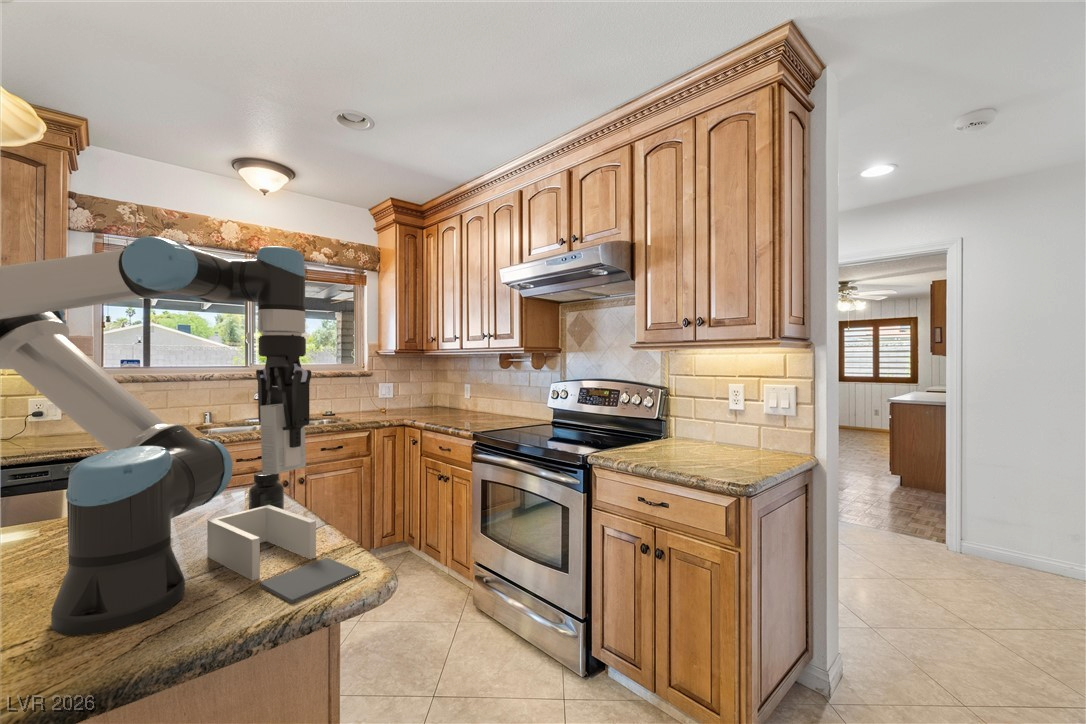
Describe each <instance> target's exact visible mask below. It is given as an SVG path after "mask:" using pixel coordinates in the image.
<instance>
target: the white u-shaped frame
mask: <svg viewBox="0 0 1086 724" xmlns="http://www.w3.org/2000/svg"><path fill="white" fill-rule="evenodd" d="M206 521H207V526H206V527H207V532H206V534H207V538H206V540H207V542H206V543H207V558H209V559H211V560H213V561H215V562H216V563H218V564H220V565H222V566H224V567H226V568H227V569H230V570H231V571H234V572H235V573H237V574H239V575H241V576H242V577H245V578H247V579H249V580H250V581H255V580H258V579H259V580H260V577H261V574H260V573H261V563H260V562H261V561H260V560H261V558H260V555H261V551H260V550H261V543H265V542H268V543H270V544H273V545H274V544H275V546H277V547H279V546H280V547H279V548H281V547H283V548H282V549H284V548H285V549H284V550H286V549H287V550H286V551H288V550H290V551H289V552H291V551H292V553H293V552H294V553H293V554H295V553H297V554H296V555H298V554H300V555H301V556H300V555H299V556H300V557H302V556H304V557H303V558H305V557H306V558H305V559H307V558H308V560H309V559H310V560H312V559H311V558H313V559H315V558H314V557H316V558H317V520H314V519H312V518H309V517H307V516H304V515H301V514H298V513H294V512H291V511H289V510H285V509H284V510H283V509H280V508H277V507H274V506H271V505H267V506H262V507H258V508H254V509H250V510H249V509H247V510H243V511H239V512H238V511H237V512H234V513H230V514H226V515H223V516H218V517H214V518H211V519H207V520H206Z"/></svg>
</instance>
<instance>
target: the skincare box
mask: <svg viewBox="0 0 1086 724" xmlns="http://www.w3.org/2000/svg"><path fill="white" fill-rule="evenodd" d="M260 418H261V423H260V441H261V442H260V444H261V445H260V447H261V472H264V473H268V474H279V475H280V474H283V473H287V472H291V471H296V470H300V469H303V468H306V467H307V459H306V458H307V456H306V452H307V450H306V425H305V426H303V428H301V446H300V449H301V464H298V465H294V466H289V467H284V457H283V428H282V427H286V420H285V413H284V406H283V403H282V404H273V405H264V406H260Z"/></svg>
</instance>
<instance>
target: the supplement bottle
mask: <svg viewBox="0 0 1086 724" xmlns="http://www.w3.org/2000/svg"><path fill="white" fill-rule="evenodd" d="M279 475H280V473H279V474H268V473H264V472H262V471H258V472H255V473H254V474H253V485H251V487H250V488H249V490H248V510H250V509H254V508H258V507H262V506H267V505H271V506H274V507H277V508H280V509H283V510H285V500H284V499H285V493H284V492H285V487H284V485H283V484H282V483H281V482H279V481H280V476H279Z"/></svg>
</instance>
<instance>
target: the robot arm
mask: <svg viewBox="0 0 1086 724" xmlns="http://www.w3.org/2000/svg"><path fill="white" fill-rule="evenodd" d="M305 265H306V264H305V258H304V254H302V252H300V251H299V250H297V249H294V248H291V247H290V248H289V247H286V246H277V245H276V246H275V245H274V246H273V245H272V246H262V247H260V248H258V250H257V255H256V259H254V258H253V259H231V258H229V259H228V258H223V257H220V256H217V255H214V254H211V253H209V252H205V251H202V250H199V249H196V248H193V247H191V246H187V245H185V244H182V243H180V242H179V241H176V240H172V239H169V238H162V237H160V236H159V237H158V236H152V235H150V236H149V235H148V236H142V237H138V238H136V239H135V240H134V241H132V242H131V243H129V244H127V246H126V247H125V248H122V249H116V250H109V251H103V252H94V253H86V254H81V255H73V256H66V257H59V258H51V259H44V260H36V261H31V262H22V263H15V264H14V263H13V264H9V265H1V266H0V370H13V371H14V372H16V373H17V374H18V375H19V376H20V377H21V378H22V379H23V380H25V381H26V382H27V383H28V384H29V385H31V386H32V387H33V388H34V389H35V390H37V392H39V393H40V394H41V395H43V397H45V398H46V399H47V400H48V401H49V402H50V403H52V405H54V406H55V407H56V408H58V409H59V410H60V411H61V412H62V413H64V414H65V415H66V416H67V417H68V418H70V420H72V421H73V422H74V423H75V424H77V426H79V427H80V428H81V429H82V430H83V431H85V432H86V433H87V434H88V435H89V436H91V437H92V438H93V439H94V440H95V441H96V442H98V443H99V444H100V445H101V446H102V447H103V448H105V449H106V450H107V451H104V452H101V453H97V454H94V455H91V456H89V457H86V458H84V459H82V460H80V461H79V462H77V463H76V464H75V465H74V466H73V467H72V468H71V470H70V471H69V475H68V483H67V485H68V486H67V489H66V491H65V492H66V493H65V498H66V501H67V502H66V503H67V506H66V507H67V548H68V549H67V550H68V564H67V567H68V568H67V571H66V573H65V576H64V579H63V581H62V583H61V585H60V589H59V591H58V593H57V596H56V598H55V600H54V602H53V603H54V604H53V606H52V609H51V612H50V613H51V614H50V615H51V616H50V618H51V619H50V621H51V624H50V625H51V630H52V631H53V632H54V631H55V632H54V633H57V634H58V635H63V636H87V635H95V634H101V633H107V632H110V631H111V632H112V631H116V630H119V629H123V628H126V627H130V626H132V625H136V624H138V623H141V622H144V621H146V620H149V619H151V618H154V617H156V616H158V615H160V614H162V613H164V612H167V611H168V610H169V609H172V607H174V606H175V605H176V604H179V602H180V601H181V600H182V599H183V597H184V596H185V594H186V585H185V583H186V582H185V576H184V573H183V571H182V569H181V566H180V565H179V563H178V560H177V557H176V556H175V553H174V551H173V549H172V541H171V539H172V537H171V534H172V532H171V531H172V523H171V522H172V519H174V518H176V517H178V516H180V515H183V514H185V513H187V512H189V511H191V510H194V509H196V508H198V507H201V506H205V505H206V504H208V503H209V502H211V501H212V500H213V499H214V498H216V497H218V496H219V495H220V494H222V493H223V492H224V491H225V490H226V488H227V487H228V486H229V484H230V482H231V480H232V477H233V466H234V463H233V458H232V456H231V453H230V452H229V450H228V449H227V448H226V446H224V445H223V444H222V443H220V442H219V441H217V440H214V439H211V438H210V439H209V438H197V437H196V436H195V435H194V434H192V432H190V431H189V430H188V429H187V428H186V427H185V426H184V425H182V424H179V423H173V424H172V423H171V424H166V423H165V422H164V421H163V420H162V419H161V418H160V417H158V416H157V415H156V414H155V413H154V412H152V410H151V409H149V408H148V407H147V406H146V405H145V404H143V403H142V402H141V401H140V400H139V399H137V398H136V396H135V395H133V394H132V393H131V392H129V391H128V390H127V389H126V388H125V387H123V386H122V384H120V383H119V382H118V381H117V380H116V379H114V378H113V377H112V376H111V375H110V374H109V373H107V371H105V370H104V369H103V368H102V367H100V365H98V364H97V363H96V362H95V361H93V359H91V358H90V357H89V356H88V355H86V353H84V352H83V351H82V350H81V349H79V347H78V346H76V345H75V344H74V343H72V342H71V341H70V340H69V336H70V327H68V325H67V319H65V318H64V317H65V315H66V313H65V310H72V309H78V308H85V307H86V308H87V307H91V306H97V305H104V304H112V303H117V302H119V303H120V302H125V301H131V300H138V299H143V298H144V299H145V298H152V297H159V296H166V295H176V294H177V295H178V294H179V295H183V296H188V298H189V299H191V300H193V301H195V302H205V303H211V304H216V303H230V302H231V303H232V302H233V303H235V302H242V303H243V302H248V303H249V302H252V303H257V325H258V326H257V327H258V330H257V331H258V332H259V333H261V335H259V337H258V356H260V357H264V358H266V361H265V365H264V368H262V369H258V368H257V369H256V370H255V376H256V380H257V381H256V382H257V401H258V402H257V406H258V407H257V408H258V412H257V414H258V416H257V417H258V422H259V423H260V424H261V418H260V406H264V405H273V404H282V403H283V406H284V413H285V420H286V427H282V428H283V457H284V467H289V466H294V465H298V464H301V449H300V446H301V428H303V426H305V427H306V426H309V425H310V382H311V379H312V371H311V369H303V368H302V364H301V362H300V357H304V356H306V355H307V344H306V342H307V341H306V337H305V336H303V334H305V333H306V321H307V319H306V278H307V275H306V267H305Z"/></svg>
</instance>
